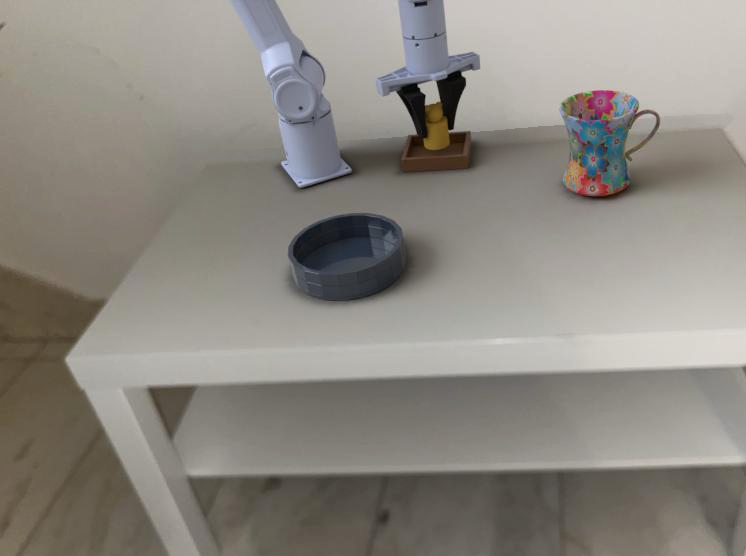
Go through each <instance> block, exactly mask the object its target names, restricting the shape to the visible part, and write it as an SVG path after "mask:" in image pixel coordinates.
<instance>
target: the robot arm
mask: <svg viewBox="0 0 746 556" xmlns="http://www.w3.org/2000/svg"><path fill="white" fill-rule="evenodd" d="M228 1H229V2H230V4H231V6H232V8H233V9H234V11H235V13H236V15H237V17H238V18H239V20H240V22H241V23H242V25H243V26H244V29H245V30H246V32H247V34H248V36H249V38H250V39H251V41H252V44H253V45H254V46H255V48H256V50H257V52H258V53H259V56H260V59H261V64H262V69H263V73H264V77H265V80H266V81H267V82H268V85H269V86H270V90H271V101H272V104H273V106H274V109H275V111H276V112H277V114H278V128H279V132H280V136H281V141H282V144H283V149H284V153H285V158H286V160H282V161H281V162H280V165H281V167H282V168H283V170H284V171H285V172H286V173H287V175H288V176H289V177H290V178H291V179H292V180H293V182H294V183H295V184H296V186H297V187H298V188H300V189H302V188H306V187H309V186H313V185H315V184H320V183H322V182H326V181H329V180H332V179H335V178H339V177H341V176H345V175H349V174H351V173H352V172H353V169H352V168H351V167H350V165H348V164H347V163H346V161H344V159H343V158H342V157H341V153H340V148H339V143H338V137H337V132H336V126H335V122H334V121H335V120H334V116H333V111H332V107H331V103H330V101H329V100H328V99H327V98H326V97H325V95H324V94H323V93H322V92H323V88H324V86H325V85H326V78H327V77H326V75H327V74H326V71H325V68H324V65H323V64H322V62H321V61H320V60H319V59H318V58H317V57H316V56H315V55H313V54H312V53H311V52H309V51H308V49H307V47H306V45H305V44H304V42H303V41H302V40H301V39H300V37H298V36H297V35H296V34H294V32H293V31H292V29H291V26H290V25H289V23H288V22H287V20H286V18H285V16H284V13H283V12H282V10H281V8H280V6H279V5H278V3H277V0H228ZM397 4H398V11H399V19H400V28H401V34H402V43H403V51H404V61H405V66H402V67H400V68H398V69H396V70H394V71H392V72H389V73H386V74H385V75H381V76H379V77H376V78H375V79H374V81H375V85H376V91H377V93H378V94H379V96H381V97H387V96H389V95H391V93H394V92H396V94H397V95H398V96H399V98H400V100H401V102H402V103H403V105H404V106H405V109H406V110H407V112H408V114H409V116H410V118H411V121H412V123H413V127H414V129H415V132H416V134H417V135H418V136H420V137H421V138H422V139H424V138H427V126H426V119H425V105H426V97H427V95H426V94H425V93H424V92H422V91H421V87H419V85H423V84H426V83H428V82H432V81H434V82H435V83H436V87H437V92H438V96H439V102H441V103H442V110H443V116H445V117H446V118H447V121H448V131H449V132H451V131H453V130H455V124H456V122H455V121H456V116H457V111H458V108H459V107H458V106H459V103H460V101H461V98H462V95H463V93H464V91H465V90H466V87H467V78H466V77H465V76H463V73H464V72H468V71H479V70H481V60H480V59H481V56H480V54H479V53H476V52H474V51H469V52H465V53H458V54H453V55H449V46H448V45H449V44H448V36H447V35H448V34H447V24H446V13H445V2H444V0H397Z"/></svg>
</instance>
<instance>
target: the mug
mask: <svg viewBox="0 0 746 556" xmlns="http://www.w3.org/2000/svg"><path fill="white" fill-rule="evenodd" d="M639 109H640V102H639V100H638V99H637V98H636V97H634V95H631V94H629V93H627V92H623V91H617V90H611V89H609V90H608V89H599V90H587V91H582V92H578V93H576V94H573V95H570V96H568V97H567V98H565V99H564V100H562V102H561V103H560V104H559V107H558V110H559V113H560V116H561V117H562V120H563V122H564V125H565V128H566V131H567V136H568V140H569V159H568V164H567V167H566V170H565V172H564V174H563V176H562V183H563V185H564V186H565V188H566V189H567V190H568V191H571V192H573V193H575V194H578V195H582V196H587V197H603V196H610V195H613V194H617V193H619V192H621V191H623V190H625V189H626V188H627V187H628V186H629V185H630V183H631V182H632V175H631V172H630V170H629V167H628V163H627V161H629V162H632V161H633V158H632V157H631V155H633V154H634V153H635V152H637V151H639V150H641V149H642V148H643V147H645V146H646V145H647V144H648V143H649V142H650V141H651V140H652V139H653V138H654V136H655V135H656V133H657V132H658V130H659V127H660V125H661V117H660V114H659V113H658V112H656V111H655V110H653V109H642V110H640V111H639ZM643 115H653V116H654V117H655V119H656V120H655V125H654V127H653V128H652V130H651V131H650V133H649V134H648V135H647V136H646V138H644V139H643V140H642V141H641V142H640V143H638V144H637V145H634V147H632V148H630V149H629V150H627V151H626V148H627V146H626V145H627V141H628V135H629V131H630V130H631V129H632V128H633V125H634V123H635V121H637V120H638V119H639V118H640V117H642V116H643Z"/></svg>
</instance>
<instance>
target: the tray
mask: <svg viewBox="0 0 746 556" xmlns="http://www.w3.org/2000/svg"><path fill="white" fill-rule="evenodd" d="M449 141H450V144H449V145H448V146H447V147H446V148H443V149H439V150H429V149H427V148H425V146H424V139H422V138H421V137H420V136H418V135H417V133H416V134H408V135H407V138H406V141H405V145H404V149H403V152H402V154H401V155H402V156H401V159H400V163H401V169H402V173H413V172H428V171H430V172H431V171H445V170H446V171H449V170H463V169H469V165H470V157H471V150H472V131H471V130H467V131H466V130H465V131H449Z"/></svg>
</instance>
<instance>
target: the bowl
mask: <svg viewBox="0 0 746 556" xmlns="http://www.w3.org/2000/svg"><path fill="white" fill-rule="evenodd" d="M405 245H406V244H405V240H404V234H403V229H402V227H401V226H400V225H399V224H398V223H397V222H396V221H395V220H394V219H391V218H390V217H387V216H385V215H382V214H376V213H371V212H349V213H344V214H343V213H342V214H337V215H332V216H330V217H327V218H324V219H320V220H317V221H315V222H314V223H312V224H310V225H308V226H306V227H304V228H303V229H302V230H300V231H299V232H298V233H297V234H296V235H295V236H294V237H293V238H292V240H291V242H290V243H289V244H288V247H287V258H288V263H289V265H290V266H289V267H290V270H291V274H292V277H293V279H294V282H295V284H296V286H297V287H298V289H299V290H300V291H302V292H303V293H304V294H306V295H308V296H309V297H312V298H314V299H319V300H324V301H333V302H334V301H348V300H350V301H351V300H357V299H360V298H365V297H368V296H371V295H373V294H376V293H379V292H381V291H383V290H385V289H386V288H388V287H390V286H391V285H392V284H394V283H395V282H396V281H397V280H398V279H400V277H401V276H402V274H403V273H404V271H405V270H406V266H407V251H406V246H405Z"/></svg>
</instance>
